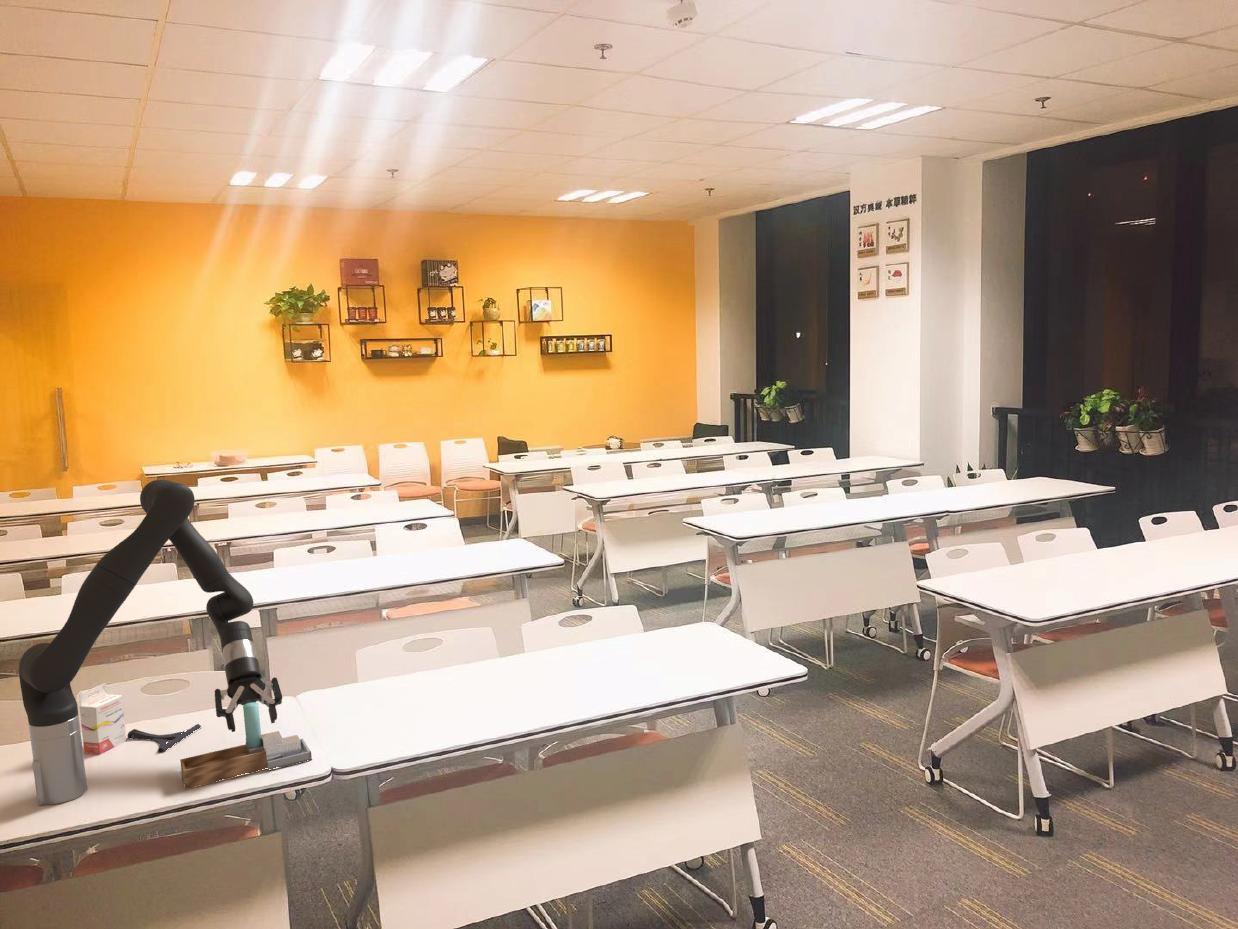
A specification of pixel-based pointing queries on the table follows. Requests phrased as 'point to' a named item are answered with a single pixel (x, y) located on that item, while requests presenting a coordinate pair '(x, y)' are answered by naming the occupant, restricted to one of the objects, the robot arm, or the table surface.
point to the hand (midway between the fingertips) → (253, 726)
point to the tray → (290, 758)
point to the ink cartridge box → (101, 720)
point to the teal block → (252, 728)
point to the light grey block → (272, 743)
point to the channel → (220, 765)
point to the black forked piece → (162, 737)
